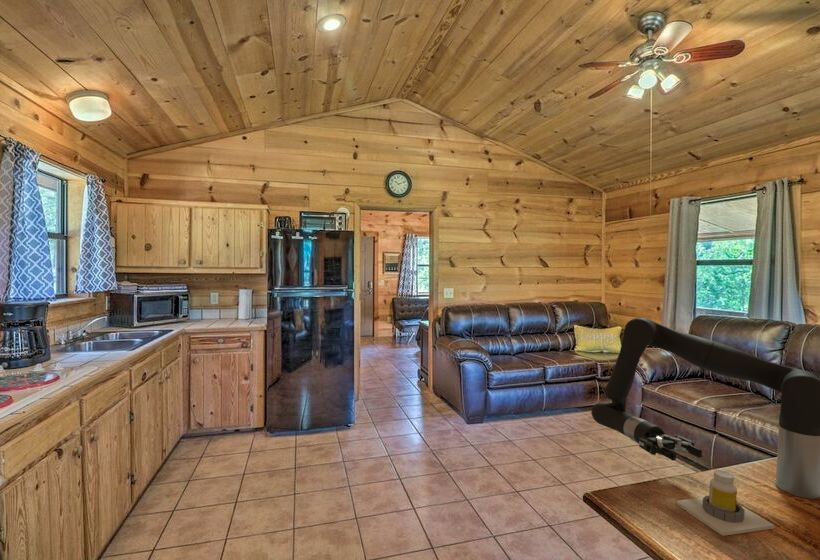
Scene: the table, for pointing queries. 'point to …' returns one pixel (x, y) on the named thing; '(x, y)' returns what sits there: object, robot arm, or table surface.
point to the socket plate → (723, 525)
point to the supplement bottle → (723, 491)
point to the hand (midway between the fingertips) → (688, 455)
